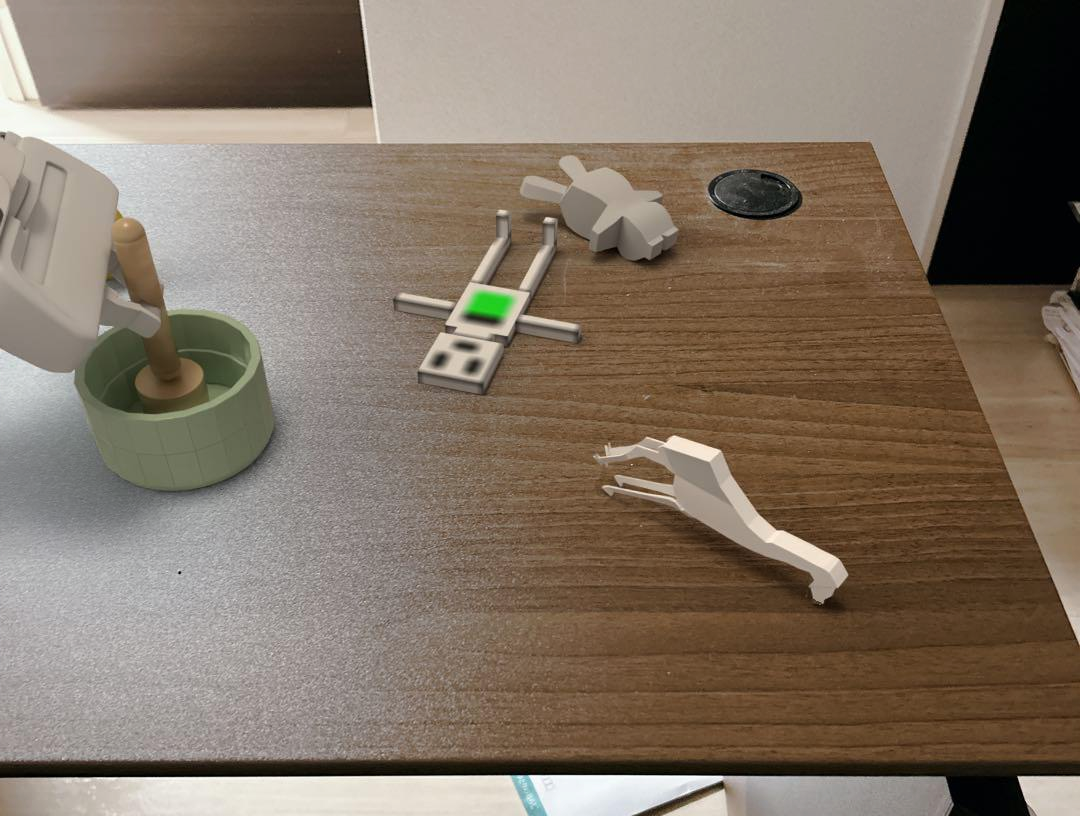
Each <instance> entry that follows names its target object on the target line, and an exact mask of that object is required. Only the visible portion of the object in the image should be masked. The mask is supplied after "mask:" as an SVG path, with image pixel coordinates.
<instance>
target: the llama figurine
mask: <svg viewBox="0 0 1080 816" xmlns="http://www.w3.org/2000/svg"><path fill="white" fill-rule="evenodd" d="M604 452H605V455H606V456H600V455H599V453H597V452H596V453H595V455H593V456H592V458H593V459H594V460H595V461H596V462H597V463H598V464H599V465H600V466H601V467H603V465H604V466H605V467H606V468H608V467H609V464H610V463H619V462H627V461H629V460H632V459H635V458H643V457H644V458H646V459H648V460H650V461H652V462H655V463H657V464H660V465H662V466H664V467H665V468H666V470H668V471H670V472H671V473H672V474H674V477H673V482H672V484H670V483H669V484H668V483H662V482H661V483H660V482H655V481H651V480H647V479H641V478H636V477H630V476H626V475H622V474H616V475H613V478H614V479H615V481H616V483H617V484H618V486H619V487H618V486H614V485H603V486H602V487H601V489H602V490H603V491H604V492H605V493H606V494H608V495H609V496H610V497H613V495H614V493H616V494H621V495H625V496H628V497H629V496H630V497H634V498H639V499H643V500H647V501H651V502H655V503H659V504H662V505H666V506H669V507H673V508H674V509H676V510H677V511H679V512H680V513H681V514H683V515H685V516H686V517H688V518H693V519H696V520H698V521H699V522H700V523H703V524H704V525H706V526H708V527H709V528H711V529H712V530H714V531H716V532H718V533H719V534H720V535H723V536H724V537H726V538H728V539H729V540H731V541H733V542H734V543H736V544H738V545H740V546H742V547H744V548H746V549H748V550H750V551H752V552H754V553H757V554H758V555H762V556H764V557H767V558H770V559H773V560H776V561H779V562H783V563H786V564H788V565H790V566H792V567H795V568H796V569H799V570H801V571H804V572H807V573H809V574H810V576H811V577H812V579H813V581H812V582H811V583H810V584H809V585H808V588H810V591H811V595H812V600H813V599H815V600H816V601H819V602H821V603H822V604H823V605H824V603H825V601H826V600H827V599H828V598H830V597H833V595H834V593H835V590H836V589H839V587H840V586H841V585H842V584H843V583H844V582H845V580H846V579H847V578H848V577H849V573H848V571H847V570H846V568H845V566H844V564H843V563H842V560H840V558H838V557H837V556H835V555H833V554H832V553H829V552H827V551H825V550H823V549H821V548H819V547H817V546H816V545H813V544H812V543H810V542H808V541H805V540H803V539H801V538H800V537H797V536H795V535H793V534H791V533H789V532H787V531H785V530H779V529H778V530H777V529H776V528H775V527H774V526H772V525H771V524H770V523H769V522H768V521H767V520H766V519H764V518H763V516H761V515H760V514H759V513H758V511H757V510H756V508H755V507H754V506H753V504H752V502H750V500H749V498H748V497H747V495H746V494H745V493H744V491H743V490H742V488H741V487H740V486H739V484H738V482H737V481H736V479H735V478H734V477H733V475H732V474H731V471H730V468H729V465H728V464H727V461H726V459H725V456H724V454H723V451H722V450H721V449H718V448H715V447H711V446H709V445H706V444H703V443H699V442H696V441H693V440H691V439H687V438H684V437H681V436H678V435H672V436H670V437H668V438H666V442H664V441H662V440H658V439H655V438H652V437H648V436H646V437H645V438H643V439H642V440H641V441H639V442H638V443H635V444H632V445H627V446H618V447H612V446H611V442H610V441H609V442H607V445H604ZM624 484H628V485H632V486H634V487H635V486H636V487H640V488H644V489H646V490H647V489H648V490H651V491H655V492H659V493H662V494H665V495H660V494H654V493H648V492H647V493H646V492H641V491H638V490H633V489H627V488H623V487H624ZM668 495H669V496H668ZM673 497H674V498H673ZM825 599H826V600H825ZM824 600H825V601H824Z"/></svg>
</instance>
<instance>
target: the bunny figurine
mask: <svg viewBox="0 0 1080 816" xmlns="http://www.w3.org/2000/svg"><path fill="white" fill-rule="evenodd" d="M558 165H559V168H560V170H562V172H564V174H565V175H566V176H567V177H568V178H569V179H570V180H571V181H572V182H571V183H570V185H569V186H567V185H564V184H561V183H558V182H556V181H553V180H550V179H547V178H544V177H542V176H538V175H526V176H525V177H524V178H523V180H522V183H521V186H520V188H519V191H518V192H519V193H520V195H521V197H524V198H526V199H530V200H535V201H536V200H537V201H541V202H548V203H554V204H558V206H559V208H560V211H561V213H562V216H563V218H564V221H565V224H566V226H567V227H568V228H569V229H571V231H573V232H574V233H576V234H578V235H579V236H581V237H582V238H583V239H586V240H589V244H588V250H589V251H592V252H595V253H598V252H601V251H605V250H609V249H613V248H617V250H618V252H619V254H620V256H622V257H623V258H624V259H625V260H627V261H634V262H635V261H638V260H641V259H644V258H645V259H647V260H648V261H651V260H652V259H654V258H655V257H657V256H659V255H661V254H662V250H663V251H667V250H668V249H670V248H671V247H673V246H674V245H676V244H677V241H678V237H679V232H680V229H679V228H677V227H676V226H675V225H674V221H673V220H672V217H671V215H670V212H668V210H667V209H666V207H665V206H663V201H664V195H663V194H662V193H661V192H660V191H659V190H639V189H638V190H637V189H634V188H633V187H632V185H631V183H630V181H629V180H628V179H627V178H626V177H624V176H623V175H622V174H621V173H619V172H618V171H616V170H615V169H612V168H609V167H607V166H604V167H599V168H597V169H594V170H590V171H587V170H586V168H585V167H584V165H583V164H582V161H581V160H580V159H579V158H578V157H577V156H576V155H571V154H568V155H565V156H562V157H561V158H559V161H558Z"/></svg>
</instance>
